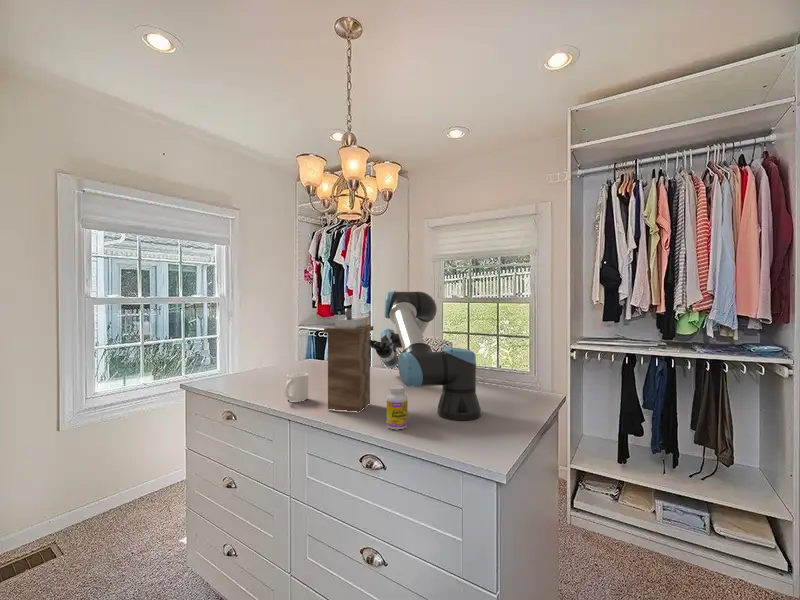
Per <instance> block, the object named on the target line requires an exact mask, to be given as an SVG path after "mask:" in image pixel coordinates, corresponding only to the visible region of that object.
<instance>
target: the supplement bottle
mask: <svg viewBox="0 0 800 600" xmlns="http://www.w3.org/2000/svg"><path fill="white" fill-rule="evenodd" d="M405 391H406V390H405V385H398V384H396V385H390V386H389V394H387V396H386V427H387V429H389V428H391V429H390V430H392V429H402V430H405V429H407V427H408V402H409V401H408V400H409V399H408V396H407V394H405ZM404 428H405V429H404Z"/></svg>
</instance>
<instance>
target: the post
mask: <svg viewBox="0 0 800 600" xmlns="http://www.w3.org/2000/svg"><path fill="white" fill-rule="evenodd" d="M371 331H374V326H373V325H368V326H367V325H365V326H364V327H360V328H335V325H334V326H330V327H324V328H323V333H324V334H325V333H327V410H328V409H335V410H347V411H357V412H359V411H361V410H362V409H363V408H365V407H366V406H367V405H368V404H370V405H371V349H370V340H371ZM368 406H369V405H368ZM368 406H367V407H368ZM367 407H366V408H367ZM366 408H365V409H366ZM362 411H363V410H362ZM362 411H361V412H362Z"/></svg>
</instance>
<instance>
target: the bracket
mask: <svg viewBox="0 0 800 600" xmlns="http://www.w3.org/2000/svg"><path fill="white" fill-rule="evenodd" d="M352 312H353V309H352V308H345V309H344V315H345V318H338V319H335V320H334V324H335V325H334V326H335V328H360V327H364V326H366V325H368V317H354V318H353V313H352Z"/></svg>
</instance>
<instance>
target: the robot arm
mask: <svg viewBox="0 0 800 600" xmlns="http://www.w3.org/2000/svg"><path fill="white" fill-rule="evenodd" d="M437 307H438V306H437V303H436V302H435V299H433V297H432V296H431V295H429V293H426V292H424V291H395V290H393V291H387V293H386V294H385V302H384V318H386V319H389V320H390V321H391V322H392V323H393V324H394V325H395V327H396V331H397V333H396V332H395V331H394V330H393V329H390V328H386V329H383V330H381V331H380V341H378V340H373V339H370V350H372V349H374V350H375V352H376V354H377V355H378V357H379V359H380V360H381V361H382V363H383V364H384V366H386V367H387V368H389V369H395V368H396V367H397V368H398V374H399V377H400V380H401V382H402V384H403V386H406V387H413V388H419V387H421V388H422V387H436V386H438V387H439V386H442V391H441V395H440V398H439V402H438V405H437V415H438V416H439V417H441V418H444V419H446V420H447V419H448V420H452V421H473V420H475V419H479V418H480V417H481V415H482V410H481V406H480V402H479V399H478V396H477V392H476V390H477V388H476V387H477V385H476V383H477V361H476V359H477V358H476V354H475V352H474V351H472V350H470V349H465V348H459V347H453V346H444V347H442V349H441V351H433V350H432V348H431V346H430V345H429V344H427V343H426V342H425V340H424V336H423V335H424V333H425V331H426V329H427V328H428V326H429V324H430V322H432V321H433V320H434V319H435V317H436V315H437V310H438V309H437ZM397 349H402V351H401V353H400V354H399V356H398V353H397Z"/></svg>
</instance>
